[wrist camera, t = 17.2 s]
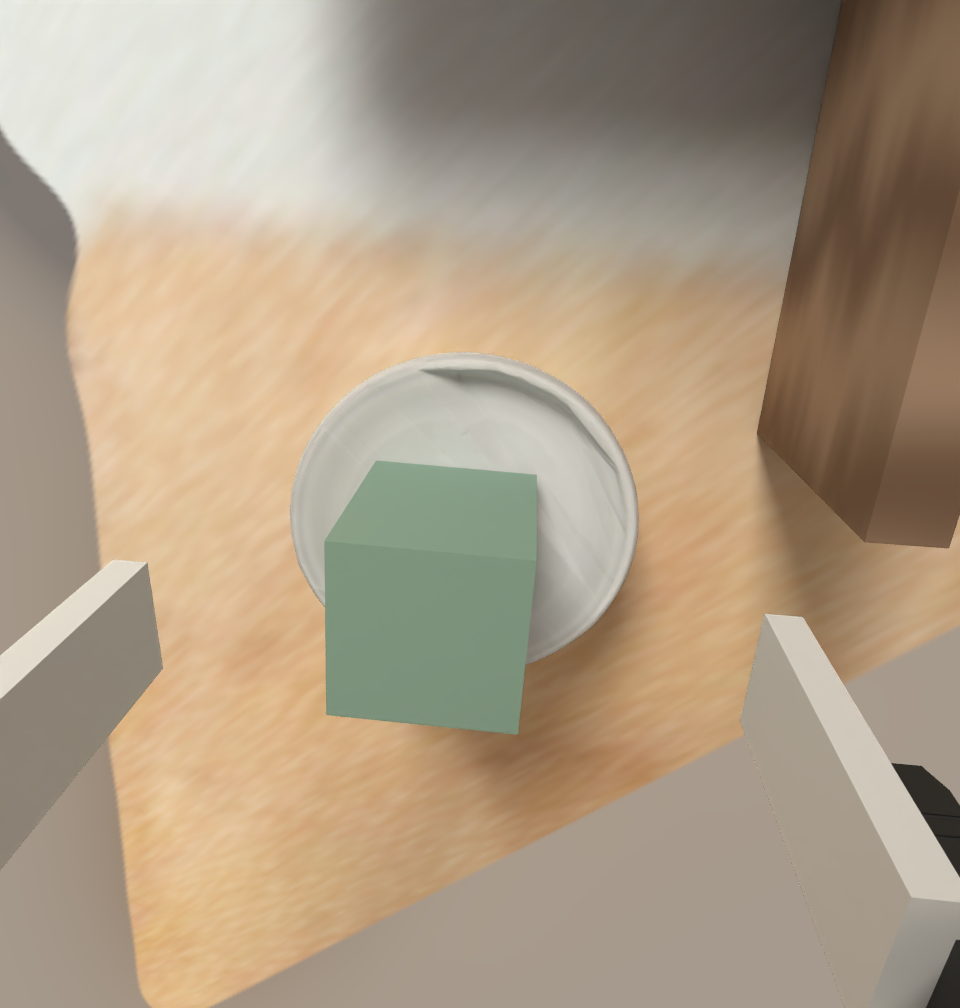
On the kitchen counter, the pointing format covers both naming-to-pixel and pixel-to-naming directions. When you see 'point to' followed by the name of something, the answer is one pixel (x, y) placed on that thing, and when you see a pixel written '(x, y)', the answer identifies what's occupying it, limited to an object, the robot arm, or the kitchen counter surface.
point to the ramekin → (485, 446)
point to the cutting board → (878, 282)
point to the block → (431, 597)
